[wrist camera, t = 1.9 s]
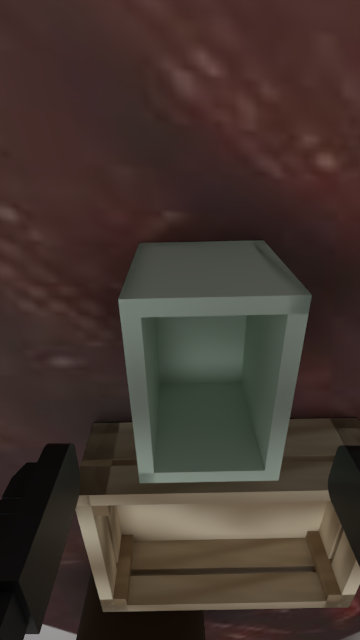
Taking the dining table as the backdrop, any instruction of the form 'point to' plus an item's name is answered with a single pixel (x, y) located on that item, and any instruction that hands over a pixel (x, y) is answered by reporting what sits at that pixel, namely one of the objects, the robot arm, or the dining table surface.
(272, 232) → the dining table surface
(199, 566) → the big crate
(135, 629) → the olive oil
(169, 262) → the box
